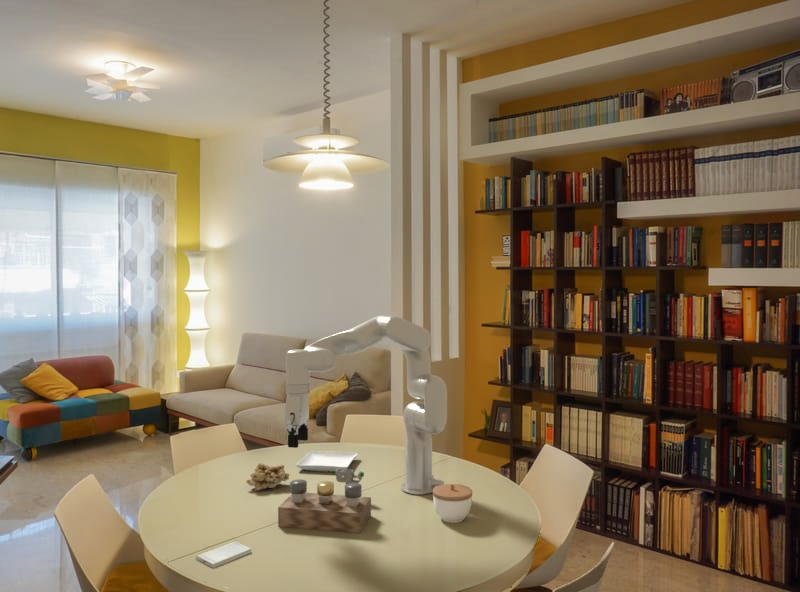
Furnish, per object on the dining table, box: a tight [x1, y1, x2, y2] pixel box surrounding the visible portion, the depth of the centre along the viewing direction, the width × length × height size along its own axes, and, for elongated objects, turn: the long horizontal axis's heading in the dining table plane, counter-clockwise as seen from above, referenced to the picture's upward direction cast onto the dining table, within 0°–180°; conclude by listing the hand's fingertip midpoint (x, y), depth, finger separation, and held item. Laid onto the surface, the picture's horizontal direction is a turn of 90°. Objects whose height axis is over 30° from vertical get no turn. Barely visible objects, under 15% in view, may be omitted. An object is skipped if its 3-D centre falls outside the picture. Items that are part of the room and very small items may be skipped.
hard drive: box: [195, 540, 253, 569], centre depth 174 cm, size 2×8×12 cm
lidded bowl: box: [432, 483, 473, 524], centre depth 201 cm, size 13×13×11 cm
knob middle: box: [316, 480, 335, 505], centre depth 199 cm, size 5×5×8 cm
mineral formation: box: [245, 462, 290, 491], centre depth 231 cm, size 8×13×15 cm
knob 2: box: [344, 483, 363, 507], centre depth 197 cm, size 5×5×8 cm
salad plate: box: [296, 450, 359, 473], centre depth 257 cm, size 21×21×3 cm
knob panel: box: [277, 492, 372, 534], centre depth 199 cm, size 26×14×6 cm, turn 79°
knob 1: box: [289, 478, 308, 503], centre depth 200 cm, size 5×5×8 cm
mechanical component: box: [333, 468, 365, 485], centre depth 218 cm, size 3×10×10 cm, turn 78°
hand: (298, 443), depth 200 cm, fingers open, 8 cm apart
